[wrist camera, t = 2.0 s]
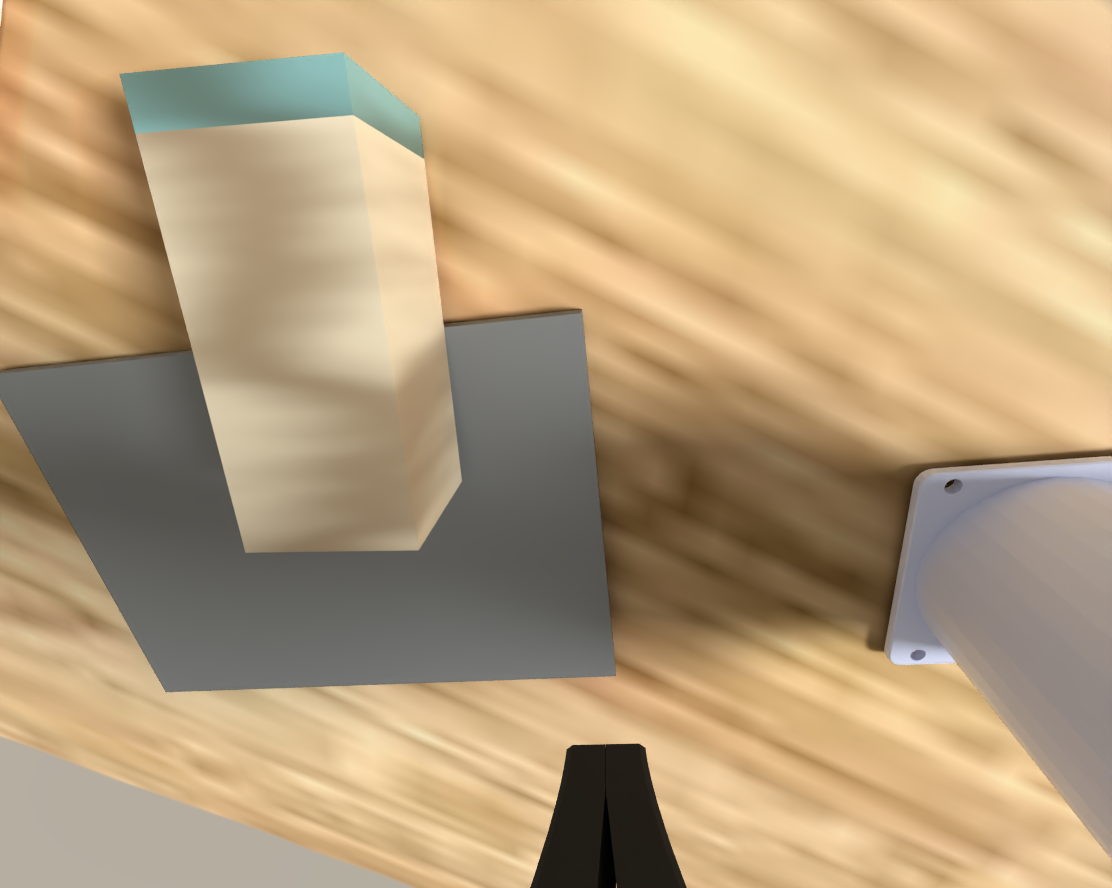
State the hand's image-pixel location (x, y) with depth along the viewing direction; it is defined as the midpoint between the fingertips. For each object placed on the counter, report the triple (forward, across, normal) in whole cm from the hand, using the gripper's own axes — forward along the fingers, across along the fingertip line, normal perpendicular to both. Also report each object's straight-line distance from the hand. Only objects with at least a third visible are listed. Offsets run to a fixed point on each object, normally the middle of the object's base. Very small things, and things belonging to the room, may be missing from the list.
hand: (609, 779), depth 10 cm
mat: (+9, +10, 0) cm, 13 cm away
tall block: (+6, +6, -3) cm, 9 cm away
